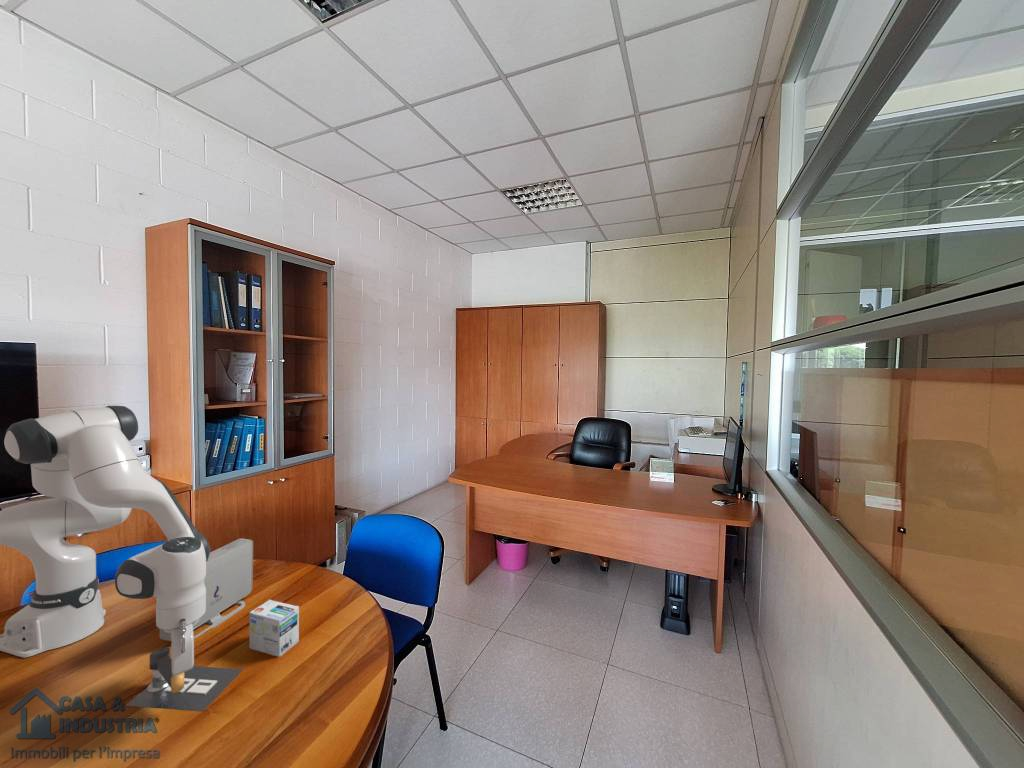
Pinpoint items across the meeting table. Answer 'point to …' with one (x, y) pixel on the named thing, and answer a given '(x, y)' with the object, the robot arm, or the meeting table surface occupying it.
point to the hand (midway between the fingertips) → (181, 667)
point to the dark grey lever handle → (166, 668)
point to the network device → (225, 582)
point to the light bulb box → (274, 627)
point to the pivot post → (157, 682)
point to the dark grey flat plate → (187, 699)
